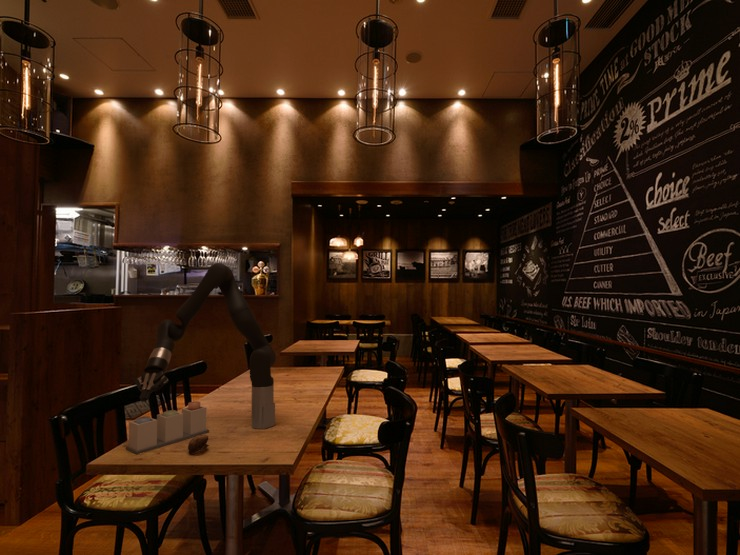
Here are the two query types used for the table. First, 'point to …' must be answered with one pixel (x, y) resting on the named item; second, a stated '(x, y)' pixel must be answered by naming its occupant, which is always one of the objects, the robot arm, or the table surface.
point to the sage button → (170, 413)
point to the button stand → (166, 430)
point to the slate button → (142, 420)
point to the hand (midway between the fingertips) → (143, 400)
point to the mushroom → (198, 444)
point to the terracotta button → (194, 405)
